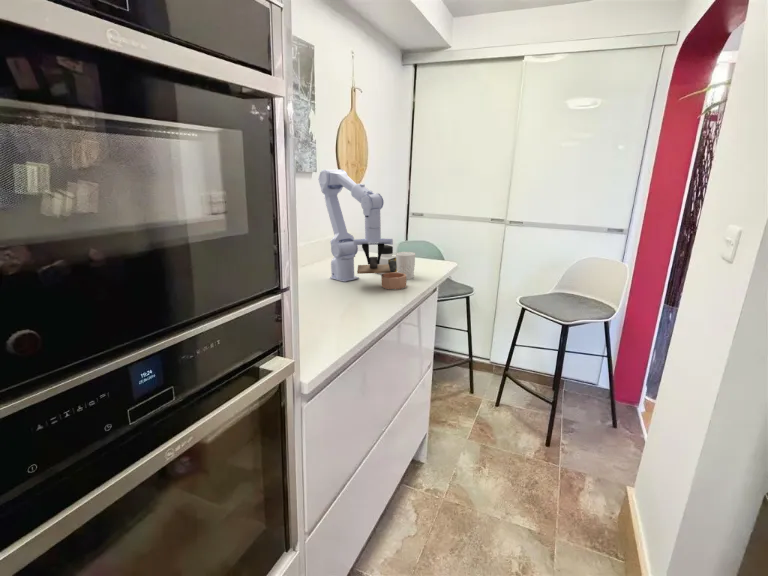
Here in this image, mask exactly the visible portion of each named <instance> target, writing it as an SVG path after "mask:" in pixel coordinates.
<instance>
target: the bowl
mask: <svg viewBox="0 0 768 576" xmlns="http://www.w3.org/2000/svg"><path fill="white" fill-rule="evenodd" d="M380 275H381V280H380V281H381V288H382V287H383V289H384V288H385V290H391V289H396V290H402V288H403V289H405V288H407V279H406V274H404V273H399V272H392V273H385V274H380Z"/></svg>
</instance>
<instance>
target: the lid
mask: <svg viewBox="0 0 768 576" xmlns="http://www.w3.org/2000/svg"><path fill="white" fill-rule="evenodd" d="M377 257H378V256H369V260H370V264H358V265H357V273H356V274H358V275H359V274H361V275H363V274H376V273H390V267H389V264H386V265H378V260H377Z"/></svg>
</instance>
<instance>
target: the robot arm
mask: <svg viewBox="0 0 768 576" xmlns="http://www.w3.org/2000/svg"><path fill="white" fill-rule="evenodd" d="M318 183H319V188H320V190H321V191H320V192H321V193H322V195H323V199H324V203H325V207H326V209H327V213H328V218H329V220H330V224H331V228H332V232H333V235H334V236H333V237H332V238H331V239H330V242H329V243H330V246H331V247H330V251H331V255H332V256H333V258H332V259H331V262H330V269H331V273H330V274H331V276H330V277H329V279H331V280H336V281H341V282H345V283H347V282H350V281H353V280H358V279H360V276H355V258H356V255H357V253H358V251H359V246H361V249H362V250H363V252H364V255H365V257H366V261H367V265H370V260H369V257H370V246H371V245H374V246H375V245H376V246H377V257H378V264H379V263H380V257H381V254H382V251H383V249H384V245H391V246H393V245H394V240H393V238H382V235H381V234H382V232H381V210H382V209H383V207H384V203H385V202H384V198H383V196H382V195H381V193H374V192H373V191H372V190H370V189H368V188H367V187H366V186H365V184H364V183H357V182H355V181H354V180H353V179H352V178H351V177H350V176H348V172H347V171H345V170H344V169H342V168H341V169H323V168H322V169H321V171H320V172H319V176H318ZM344 188H345V189H346V190H348V191H350V194H351V197H352V198H353V199H355V201H357V202H358V203H360V205H361V208H362V210H363V211H362V214H363V216H364V232H365V233H364V237H365V238H358V239H357V238H356V239H355V237H354V236H353V235H352V234H350V233H349V232H348V230H347V225H346V222H345V219H344V215H343V211H342V209H341V205H340V201H339V197H338V194H339V193H341V191H342V189H344Z"/></svg>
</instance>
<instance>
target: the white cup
mask: <svg viewBox="0 0 768 576" xmlns="http://www.w3.org/2000/svg"><path fill="white" fill-rule="evenodd" d="M395 256H396V265H397V272H399V273H404V274H406V280H411V279H413V278H414V276H415V265H416V253H415V252H410V251H401V252H396V253H395Z"/></svg>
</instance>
